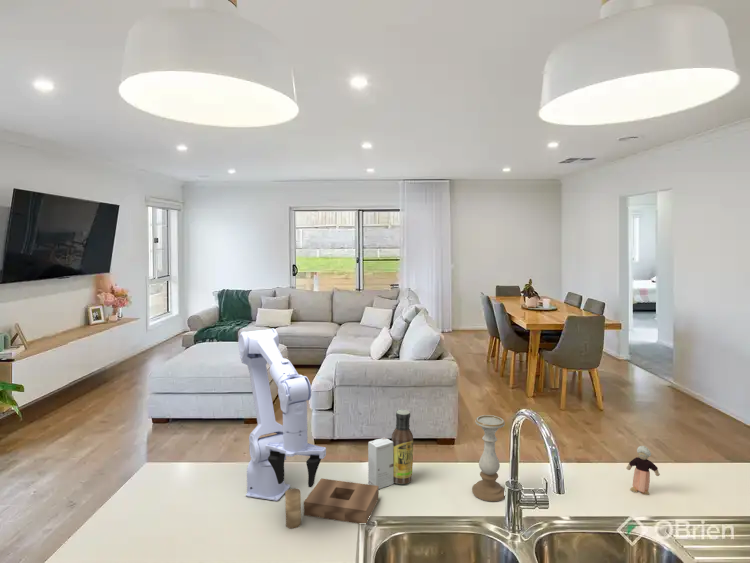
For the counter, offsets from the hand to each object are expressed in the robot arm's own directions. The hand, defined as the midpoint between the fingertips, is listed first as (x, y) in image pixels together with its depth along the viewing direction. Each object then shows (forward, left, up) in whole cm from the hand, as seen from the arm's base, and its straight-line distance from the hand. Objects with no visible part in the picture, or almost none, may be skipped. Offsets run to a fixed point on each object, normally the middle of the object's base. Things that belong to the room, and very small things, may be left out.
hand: (296, 483), depth 114 cm
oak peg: (-1, -1, -10) cm, 10 cm away
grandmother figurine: (+84, +36, -10) cm, 92 cm away
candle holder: (+44, +25, -10) cm, 52 cm away
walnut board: (+8, +9, -10) cm, 16 cm away
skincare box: (+15, +23, -10) cm, 30 cm away
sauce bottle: (+20, +26, -10) cm, 35 cm away
